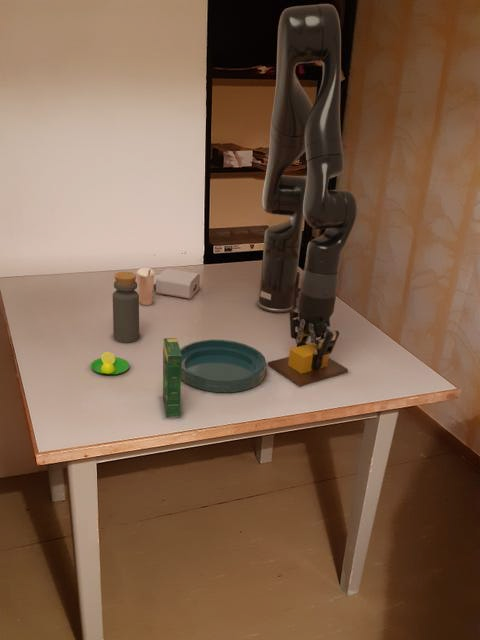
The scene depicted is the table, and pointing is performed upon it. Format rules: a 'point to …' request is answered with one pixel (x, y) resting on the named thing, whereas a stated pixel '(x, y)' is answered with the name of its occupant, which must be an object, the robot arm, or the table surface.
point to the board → (310, 376)
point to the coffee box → (171, 377)
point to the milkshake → (145, 285)
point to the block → (304, 358)
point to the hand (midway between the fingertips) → (307, 363)
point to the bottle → (125, 308)
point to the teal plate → (222, 365)
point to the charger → (177, 283)
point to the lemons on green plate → (109, 364)
